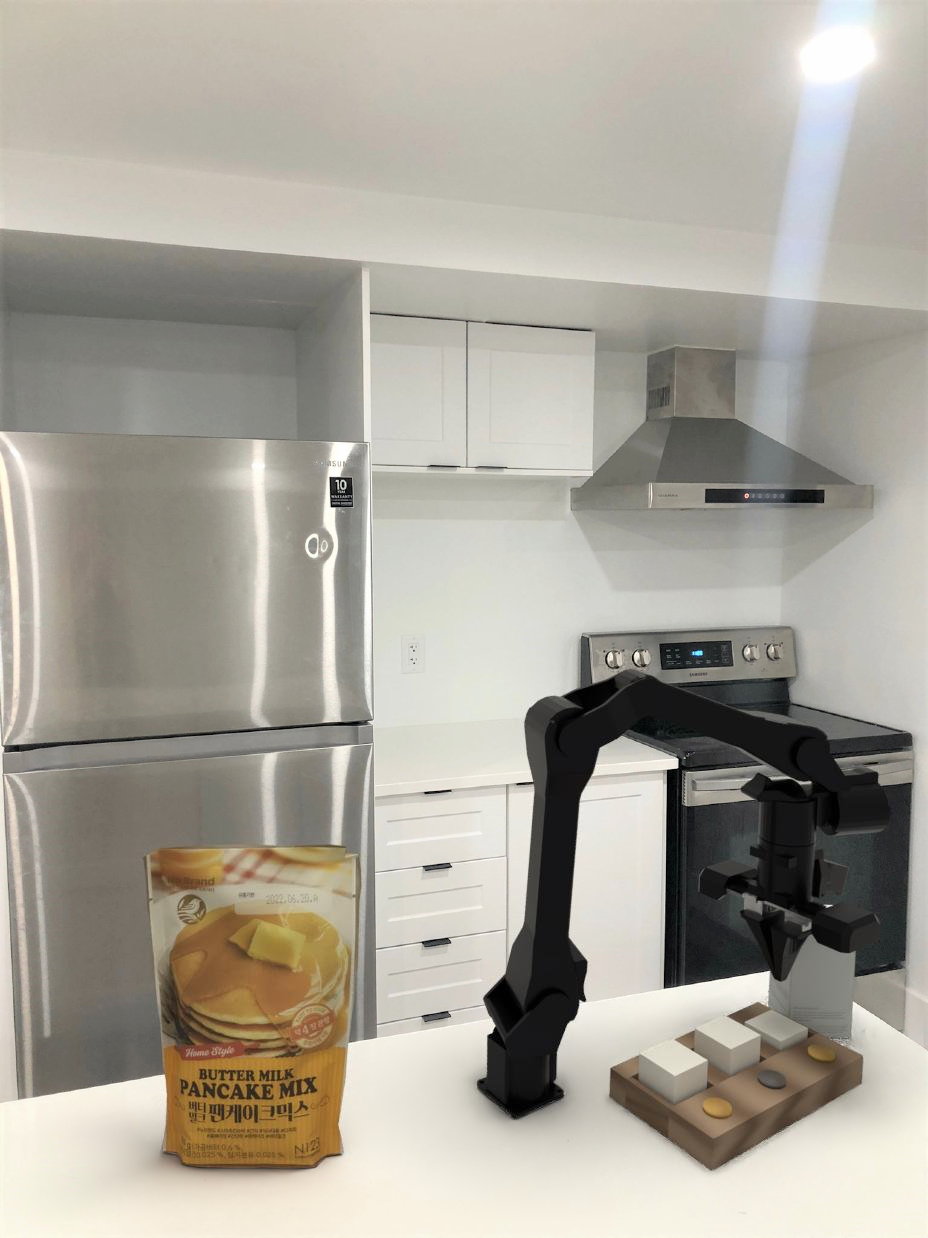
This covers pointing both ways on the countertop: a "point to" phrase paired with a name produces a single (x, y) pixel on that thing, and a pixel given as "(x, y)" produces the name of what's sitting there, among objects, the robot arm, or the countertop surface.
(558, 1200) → the countertop surface
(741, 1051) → the middle button
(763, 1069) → the button board
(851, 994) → the supplement box
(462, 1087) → the countertop surface
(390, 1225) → the countertop surface
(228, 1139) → the pancake mix bag
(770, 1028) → the far button
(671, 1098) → the near button
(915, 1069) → the countertop surface
